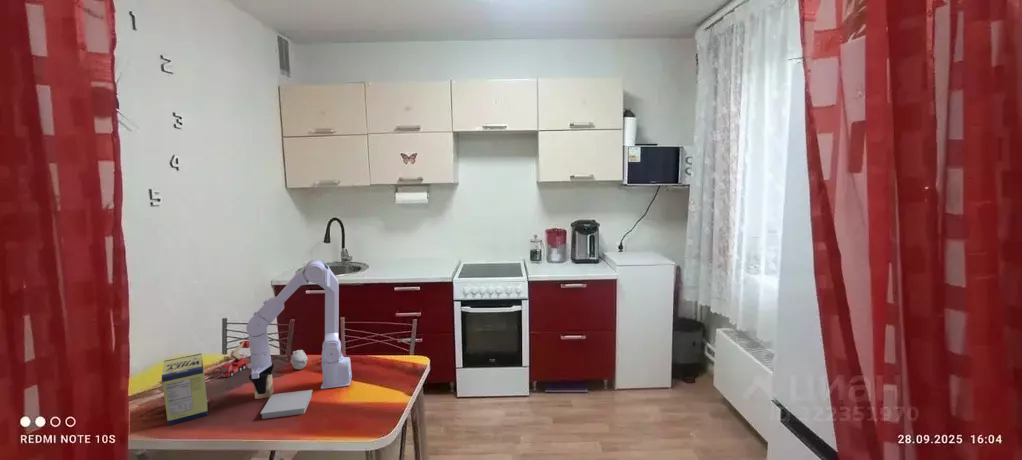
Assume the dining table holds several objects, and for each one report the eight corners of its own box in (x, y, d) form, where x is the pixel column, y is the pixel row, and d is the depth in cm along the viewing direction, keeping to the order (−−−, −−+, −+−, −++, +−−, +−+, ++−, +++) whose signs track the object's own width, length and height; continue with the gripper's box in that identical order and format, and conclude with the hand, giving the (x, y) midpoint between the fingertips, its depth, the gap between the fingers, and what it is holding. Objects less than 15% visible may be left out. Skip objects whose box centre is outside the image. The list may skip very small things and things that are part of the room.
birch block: (273, 391, 164) (271, 374, 163) (269, 397, 159) (268, 380, 158) (259, 392, 163) (257, 376, 162) (255, 398, 158) (253, 381, 157)
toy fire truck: (220, 377, 176) (217, 352, 174) (247, 362, 189) (245, 339, 188) (228, 378, 175) (225, 353, 174) (255, 363, 188) (252, 339, 187)
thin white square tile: (313, 396, 160) (312, 389, 159) (305, 415, 147) (304, 408, 147) (272, 401, 157) (272, 394, 157) (261, 421, 145) (260, 413, 145)
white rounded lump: (306, 363, 186) (305, 346, 185) (310, 369, 180) (308, 352, 180) (289, 367, 183) (288, 350, 182) (292, 373, 177) (291, 355, 176)
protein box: (207, 396, 161) (201, 352, 159) (208, 415, 148) (203, 367, 146) (169, 405, 155) (163, 360, 153) (167, 426, 143) (161, 377, 140)
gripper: (253, 344, 165) (257, 382, 167) (239, 361, 151) (243, 401, 153) (275, 342, 167) (279, 379, 168) (263, 358, 152) (267, 398, 154)
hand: (264, 390), depth 161 cm, fingers closed on birch block, 4 cm apart
